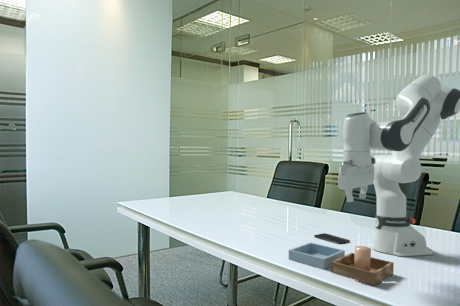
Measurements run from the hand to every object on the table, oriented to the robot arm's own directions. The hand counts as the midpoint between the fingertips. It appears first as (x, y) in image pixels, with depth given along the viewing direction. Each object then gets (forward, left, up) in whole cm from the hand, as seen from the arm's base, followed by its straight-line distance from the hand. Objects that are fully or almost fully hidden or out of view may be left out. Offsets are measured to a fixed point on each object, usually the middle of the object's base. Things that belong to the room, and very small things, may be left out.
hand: (356, 200), depth 120 cm
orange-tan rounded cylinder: (0, +5, -23) cm, 24 cm away
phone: (-3, -38, -25) cm, 46 cm away
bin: (+11, -8, -24) cm, 28 cm away
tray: (-1, +5, -24) cm, 24 cm away
